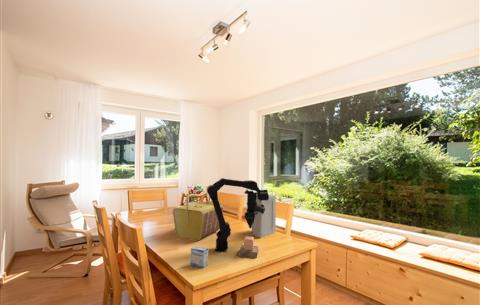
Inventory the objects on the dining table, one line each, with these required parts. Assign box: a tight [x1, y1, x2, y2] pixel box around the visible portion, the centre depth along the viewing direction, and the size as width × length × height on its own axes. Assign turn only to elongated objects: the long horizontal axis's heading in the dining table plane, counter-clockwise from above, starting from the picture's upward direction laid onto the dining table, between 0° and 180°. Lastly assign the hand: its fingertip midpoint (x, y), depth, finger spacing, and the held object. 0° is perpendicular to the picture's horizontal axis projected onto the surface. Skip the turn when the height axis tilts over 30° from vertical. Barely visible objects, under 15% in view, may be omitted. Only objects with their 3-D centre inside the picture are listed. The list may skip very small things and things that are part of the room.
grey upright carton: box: [251, 193, 277, 239], centre depth 176 cm, size 19×15×28 cm
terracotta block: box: [243, 235, 255, 250], centre depth 136 cm, size 5×5×6 cm
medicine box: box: [189, 245, 209, 269], centre depth 120 cm, size 8×4×9 cm, turn 69°
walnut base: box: [238, 244, 259, 259], centre depth 136 cm, size 10×10×3 cm
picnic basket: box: [172, 190, 224, 242], centre depth 170 cm, size 29×26×30 cm
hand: (251, 226), depth 146 cm, fingers open, 9 cm apart
